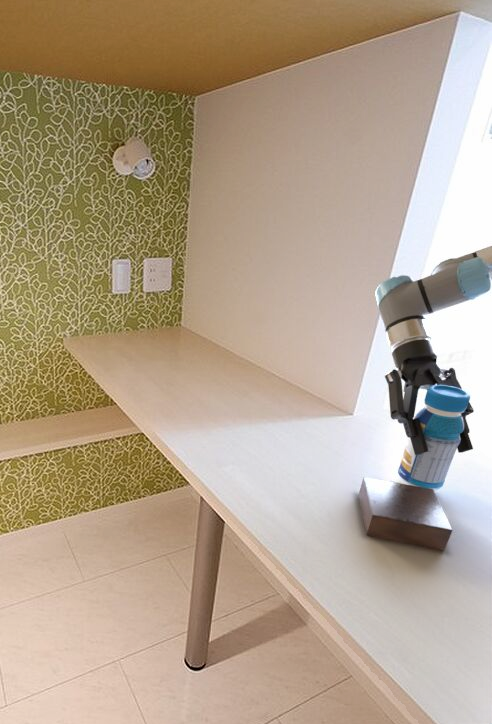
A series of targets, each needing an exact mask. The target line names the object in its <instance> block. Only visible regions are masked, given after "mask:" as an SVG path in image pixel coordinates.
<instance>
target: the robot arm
mask: <svg viewBox="0 0 492 724" xmlns="http://www.w3.org/2000/svg"><path fill="white" fill-rule="evenodd" d="M491 291H492V245H490V246H487V247H485V248H482V249H479V250H476V251H474V252H471V253H467V254H464V255H462V256H459V257H455V258H454V257H453V258H448V259H446V260H443V261H441V262H440V263H439V264H437V265H436V266H435V267H434V268H433V270H432V271H431V273H430V275H428V276H426V277H423V278H420V279H418V280H413V278H412V277H411V276H409V275H405V274H403V275H402V274H401V275H399V276H392V277H390V278H387V279H386V280H384V281H383V282H381V283H380V284H379V285H378V286H377V288H376V290H375V298H376V302H377V309H378V312H379V315H380V319H381V321H382V325H383V328H384V331H385V335H386V339H387V342H388V345H389V349H390V350H391V356H392V359H393V363H394V367H395V369H394V368H393V369H392V370H390V371H389V372H387V373H386V374H385V375H384V378H385V380H386V381H385V382H386V384H387V386H388V387H387V388H388V399H389V400H388V401H389V415H390V418H391V420H393V421H394V420H397V422H398V423H399V424H401V425H402V424H403V429H404V432H405V435H406V437H407V438H408V437H410V439H411V443H412V446H413V450H414V453H415V455H419V454H422V453H425V452H428V448H427V445H426V441H425V438H424V435H423V431H422V428H421V424H420V421H419V418H417V419H414V417H415V414H416V413H415V412H416V406H417V400H418V395H419V390H420V389H421V390H426V391H427V390H428V389H429V387H430V386H432V385H448V386H453V387H457V388H460V389H463V388H462V385H461V384H460V382H459V379H458V378H457V375H456V373H457V372H456V370H455V368H453V367H449V368H447V369H444V368H441V367H440V366H439V365H438V363H437V358H438V352H437V351H436V348H435V345H434V342H433V341H432V335H431V332H430V330H429V325H428V324H427V320H426V316H427V315H430V314H434V313H437V312H440V311H443V310H444V309H447V308H448V309H449V308H450V307H453V306H457V305H459V304H462V303H465V302H468V301H474V300H476V298H479V297H481V296H485V295H487V294H488V293H490V292H491ZM403 382H404V385H403ZM403 392H404V393H403ZM473 413H474V408H473V406H472V404H471V403H470V401H469V403H468V406H467V408H466V410H465V411H464V412H463V413H461V415H462V417H463V421H464V430H463V432H462V433H460V438H461V440H460V444H459V445H458V447H457V449H456V450H457V452H458V454H460V453H465V452H468V451H472V450H474V447H473V444H472V441H471V438H470V435H469V434H470V433H471V432H470V428H469V424H468V421H467V418H466V417H467V416H469V415H471V414H473Z"/></svg>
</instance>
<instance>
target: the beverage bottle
mask: <svg viewBox="0 0 492 724" xmlns="http://www.w3.org/2000/svg"><path fill="white" fill-rule="evenodd" d="M470 400H471V394H470V392H468V391H467V390H465V389H463V388H462V389H460V388H457V387H453V386H448V385H437V384H435V385H432V386H430V387H429V389H428V390H426V394H425V396H424V405H425V406H423V407H422V408H421V409H420V410H419V411H418V412H417V413H415V414H414V418H413V419H417V418H419V421H420V424H421V428H422V431H423V435H424V438H425V441H426V445H427V448H428V452H425V453H422V454H419V455H415V453H414V450H413V446H412V443H411V439H410V437H407V441H406V444H405V447H404V450H403V454H402V457H401V461H400V464H399V467H398V468H397V475H398V477H399V479H400V480H401V481H402V482H403V483H404V484H406V485H412V486H418V487H424V488H429V489H433V490H434V491H438V490H439V489H441V488H443V486H444V483H445V480H446V477H447V475H448V473H449V470H450V467H451V464H452V462H453V459H454V456H455V453H456V451H457V450H458V449H457V447H458V445H459V444H460V440H461V438H460V433H462V432H463V430H464V421H463V417H462V415H461V413H463V412H464V411H465V410H466V408H467V406H468V403H469V402H470Z"/></svg>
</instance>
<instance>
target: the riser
mask: <svg viewBox="0 0 492 724" xmlns="http://www.w3.org/2000/svg"><path fill="white" fill-rule="evenodd" d="M362 478H363V479H362V482H361V485H360V488H359V493H358V495H357V496H358V501H359V506H360V510H361V515H362V519H363V524H364V529H365V535H366V536H370V537H376V538H379V539H384V540H389V541H393V542H399V543H405V544H409V545H413V546H419V547H424V548H428V549H434V550H438V551H442V552H443V551H445V550H446V547H447V545H448V543H449V540H450V537H451V535H452V533H453V531H454V530H453V528H452V526H451V524H450V521H449V520H448V517H447V515H446V513H445V510H444V508H443V507H442V505H441V502H440V500H439V498H438V496H437V494H436V492H435V490H433V489H429V488H424V487H418V486H412V485H408V484H407V483H401V482H393V481H389V480H388V481H387V480H383V479H377V478H370V477H365V476H364V477H362Z"/></svg>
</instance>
